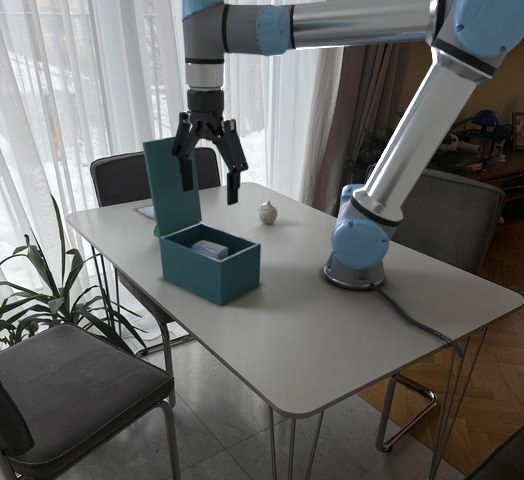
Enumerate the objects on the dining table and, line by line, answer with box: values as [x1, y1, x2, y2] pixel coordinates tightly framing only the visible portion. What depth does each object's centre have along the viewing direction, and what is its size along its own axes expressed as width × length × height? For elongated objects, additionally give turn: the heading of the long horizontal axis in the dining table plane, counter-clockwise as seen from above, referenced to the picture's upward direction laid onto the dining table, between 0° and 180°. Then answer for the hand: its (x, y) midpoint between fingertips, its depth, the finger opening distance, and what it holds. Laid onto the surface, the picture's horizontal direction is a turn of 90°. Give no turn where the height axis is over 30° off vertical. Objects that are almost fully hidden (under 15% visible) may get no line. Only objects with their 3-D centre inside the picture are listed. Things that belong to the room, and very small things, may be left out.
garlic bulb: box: [257, 200, 278, 225], centre depth 149 cm, size 7×6×8 cm
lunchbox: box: [158, 222, 262, 307], centre depth 114 cm, size 20×14×11 cm
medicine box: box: [192, 240, 228, 261], centre depth 114 cm, size 8×4×9 cm, turn 57°
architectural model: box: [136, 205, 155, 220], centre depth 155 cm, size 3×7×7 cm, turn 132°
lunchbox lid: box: [141, 135, 203, 236], centre depth 110 cm, size 20×14×1 cm
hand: (209, 196), depth 105 cm, fingers open, 13 cm apart
